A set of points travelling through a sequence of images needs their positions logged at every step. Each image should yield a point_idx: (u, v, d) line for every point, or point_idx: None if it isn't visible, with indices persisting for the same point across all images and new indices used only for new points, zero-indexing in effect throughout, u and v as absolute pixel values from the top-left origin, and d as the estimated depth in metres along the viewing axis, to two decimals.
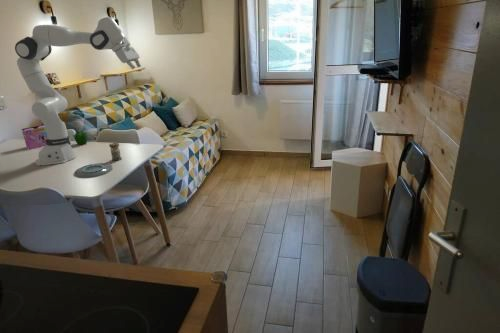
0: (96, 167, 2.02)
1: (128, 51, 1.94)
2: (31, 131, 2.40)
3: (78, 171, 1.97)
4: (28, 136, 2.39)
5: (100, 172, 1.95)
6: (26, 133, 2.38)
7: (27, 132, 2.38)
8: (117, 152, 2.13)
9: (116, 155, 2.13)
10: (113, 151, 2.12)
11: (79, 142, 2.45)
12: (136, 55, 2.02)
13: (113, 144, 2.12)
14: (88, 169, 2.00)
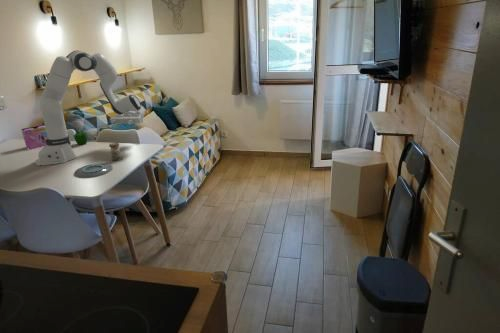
0: (96, 167, 2.02)
1: None
2: (31, 131, 2.40)
3: (78, 171, 1.97)
4: (28, 136, 2.39)
5: (100, 172, 1.95)
6: (26, 133, 2.38)
7: (27, 132, 2.38)
8: (117, 152, 2.13)
9: (116, 155, 2.13)
10: (113, 151, 2.12)
11: (79, 142, 2.45)
12: None
13: (113, 144, 2.12)
14: (88, 169, 2.00)
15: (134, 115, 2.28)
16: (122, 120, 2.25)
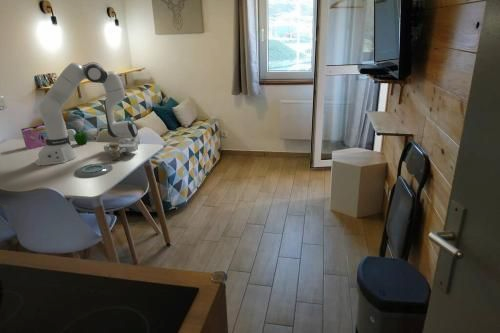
0: (96, 167, 2.02)
1: None
2: (31, 131, 2.40)
3: (78, 171, 1.97)
4: (28, 136, 2.39)
5: (100, 172, 1.95)
6: (26, 133, 2.38)
7: (27, 132, 2.38)
8: (117, 152, 2.13)
9: (116, 155, 2.13)
10: (113, 151, 2.12)
11: (79, 142, 2.45)
12: None
13: (113, 144, 2.12)
14: (88, 169, 2.00)
15: (129, 142, 2.22)
16: None
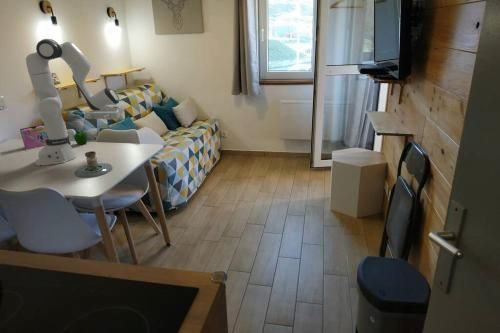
0: None
1: None
2: (30, 131, 2.40)
3: (78, 171, 1.97)
4: (27, 136, 2.39)
5: (100, 172, 1.95)
6: (25, 133, 2.38)
7: (26, 132, 2.38)
8: (93, 161, 1.96)
9: (92, 165, 1.96)
10: (89, 160, 1.95)
11: (79, 142, 2.45)
12: None
13: (89, 153, 1.95)
14: None
15: (111, 110, 2.09)
16: (98, 115, 2.06)
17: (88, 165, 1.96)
